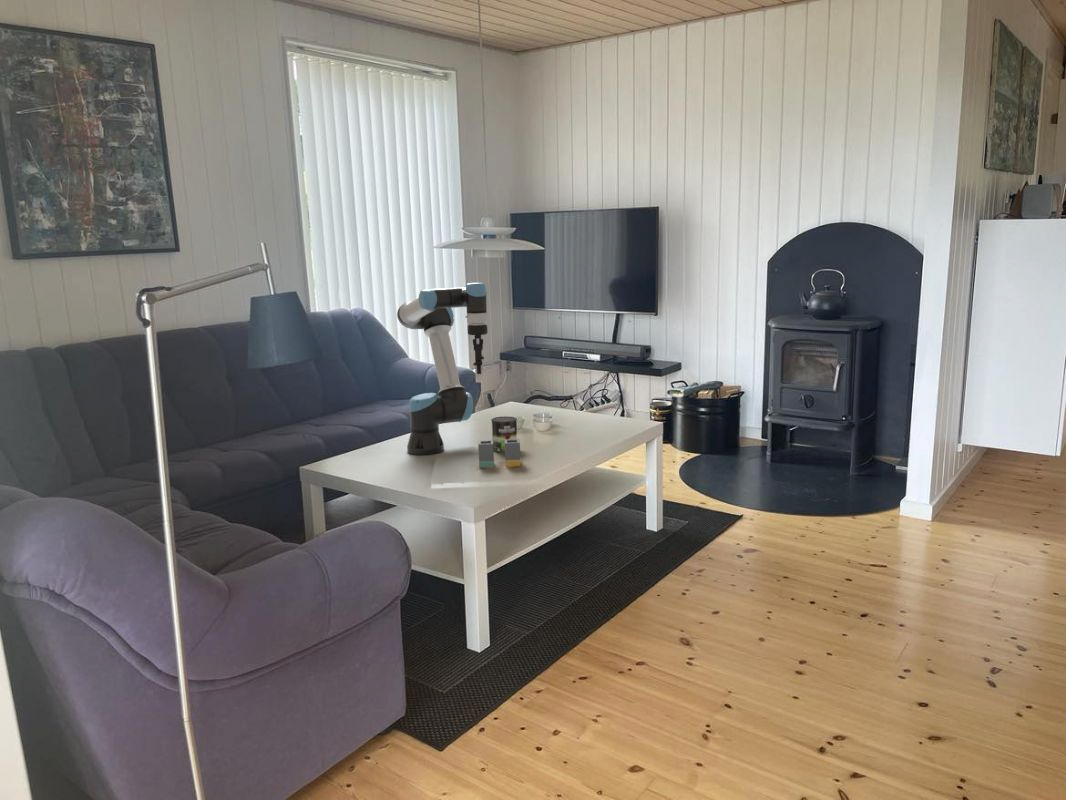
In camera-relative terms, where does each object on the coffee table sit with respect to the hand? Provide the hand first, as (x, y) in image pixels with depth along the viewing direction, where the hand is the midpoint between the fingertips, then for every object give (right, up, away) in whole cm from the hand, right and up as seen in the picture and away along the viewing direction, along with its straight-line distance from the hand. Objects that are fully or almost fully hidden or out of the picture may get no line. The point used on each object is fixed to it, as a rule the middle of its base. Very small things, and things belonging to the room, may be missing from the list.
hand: (479, 379), depth 313 cm
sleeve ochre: (+13, -32, -4) cm, 35 cm away
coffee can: (+9, -30, +19) cm, 36 cm away
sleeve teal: (+3, -33, -5) cm, 33 cm away
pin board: (+8, -34, -4) cm, 35 cm away
